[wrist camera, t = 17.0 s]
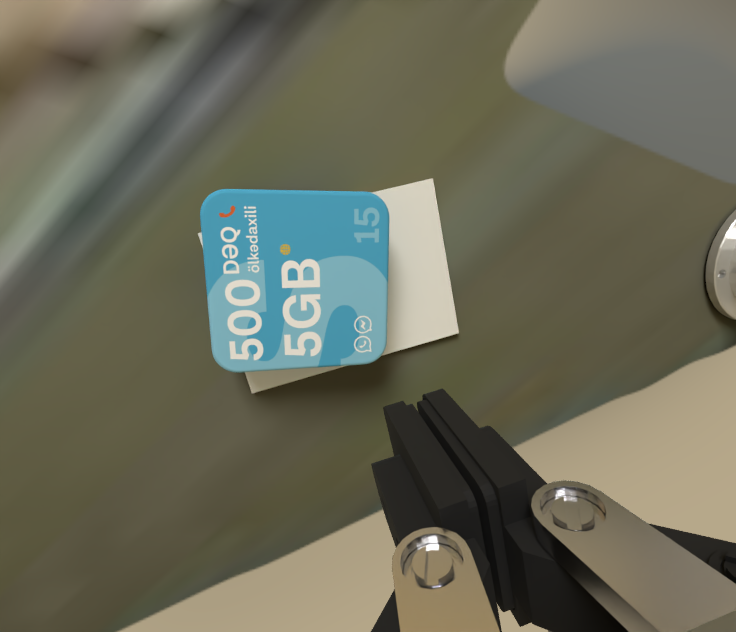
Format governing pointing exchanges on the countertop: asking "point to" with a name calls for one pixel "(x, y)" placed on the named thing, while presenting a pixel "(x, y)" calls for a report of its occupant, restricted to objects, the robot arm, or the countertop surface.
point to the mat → (402, 280)
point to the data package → (295, 278)
